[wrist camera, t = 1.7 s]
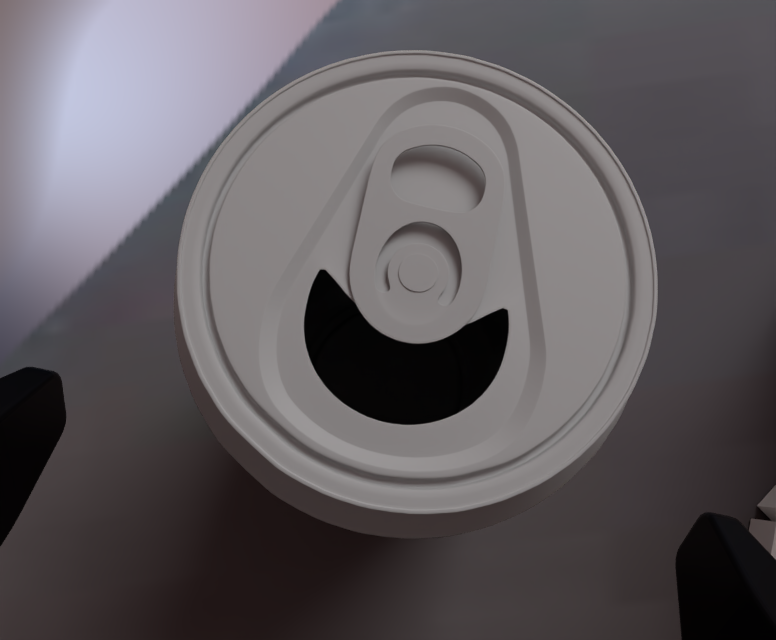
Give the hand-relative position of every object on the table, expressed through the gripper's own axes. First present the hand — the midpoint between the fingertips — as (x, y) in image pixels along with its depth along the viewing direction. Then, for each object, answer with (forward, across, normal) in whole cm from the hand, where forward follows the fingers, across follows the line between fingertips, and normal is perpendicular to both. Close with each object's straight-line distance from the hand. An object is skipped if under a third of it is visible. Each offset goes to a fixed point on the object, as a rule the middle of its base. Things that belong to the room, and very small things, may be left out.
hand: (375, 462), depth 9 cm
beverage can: (+9, 0, +6) cm, 10 cm away
